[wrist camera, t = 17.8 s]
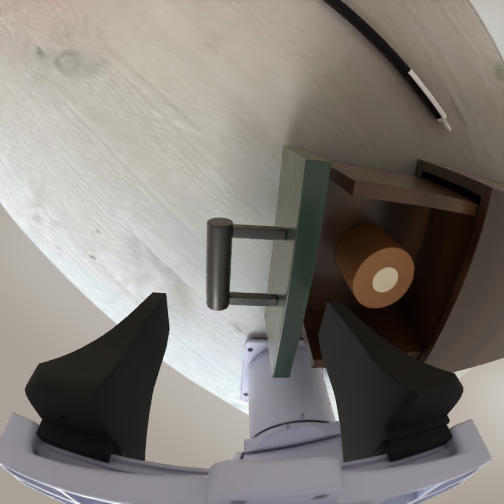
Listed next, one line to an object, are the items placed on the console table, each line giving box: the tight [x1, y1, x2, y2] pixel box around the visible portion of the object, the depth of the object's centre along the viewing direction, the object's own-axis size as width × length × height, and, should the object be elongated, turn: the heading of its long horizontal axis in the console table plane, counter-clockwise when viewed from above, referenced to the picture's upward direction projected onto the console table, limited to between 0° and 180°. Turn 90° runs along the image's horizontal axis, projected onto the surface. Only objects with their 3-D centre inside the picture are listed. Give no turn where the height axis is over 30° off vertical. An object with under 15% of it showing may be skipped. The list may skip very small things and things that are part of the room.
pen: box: [323, 0, 452, 131], centre depth 15 cm, size 1×19×1 cm, turn 50°
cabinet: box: [415, 159, 504, 372], centre depth 19 cm, size 14×15×9 cm
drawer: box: [206, 145, 480, 378], centre depth 18 cm, size 17×13×7 cm
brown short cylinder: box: [335, 224, 414, 308], centre depth 19 cm, size 4×4×4 cm
